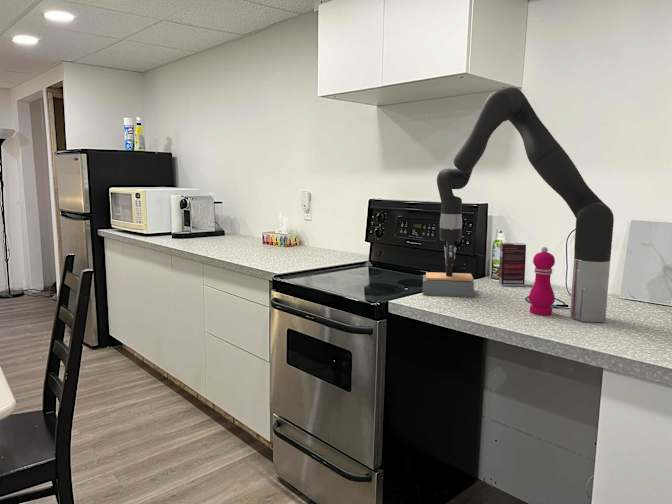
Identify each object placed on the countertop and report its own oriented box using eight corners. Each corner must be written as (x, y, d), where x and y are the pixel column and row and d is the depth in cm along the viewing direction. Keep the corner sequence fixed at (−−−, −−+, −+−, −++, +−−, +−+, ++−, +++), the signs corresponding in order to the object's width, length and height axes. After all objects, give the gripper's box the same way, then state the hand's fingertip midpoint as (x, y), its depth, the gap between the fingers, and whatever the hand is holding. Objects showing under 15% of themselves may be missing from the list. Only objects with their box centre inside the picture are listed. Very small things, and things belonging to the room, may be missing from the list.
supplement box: (521, 284, 193) (523, 242, 191) (524, 286, 188) (526, 244, 186) (497, 283, 194) (500, 242, 192) (500, 286, 189) (502, 244, 187)
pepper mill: (538, 316, 147) (542, 249, 145) (522, 310, 154) (526, 245, 151) (559, 315, 149) (563, 248, 146) (543, 309, 156) (547, 245, 153)
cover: (473, 281, 172) (473, 279, 172) (426, 280, 175) (426, 277, 175) (470, 275, 183) (470, 273, 182) (425, 274, 185) (426, 271, 185)
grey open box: (473, 296, 172) (473, 282, 171) (422, 295, 175) (423, 280, 174) (470, 290, 183) (470, 276, 182) (422, 288, 185) (423, 274, 185)
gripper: (439, 224, 182) (437, 272, 185) (440, 228, 169) (438, 279, 172) (460, 225, 181) (458, 272, 183) (463, 228, 168) (461, 279, 171)
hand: (449, 275), depth 178 cm, fingers closed
